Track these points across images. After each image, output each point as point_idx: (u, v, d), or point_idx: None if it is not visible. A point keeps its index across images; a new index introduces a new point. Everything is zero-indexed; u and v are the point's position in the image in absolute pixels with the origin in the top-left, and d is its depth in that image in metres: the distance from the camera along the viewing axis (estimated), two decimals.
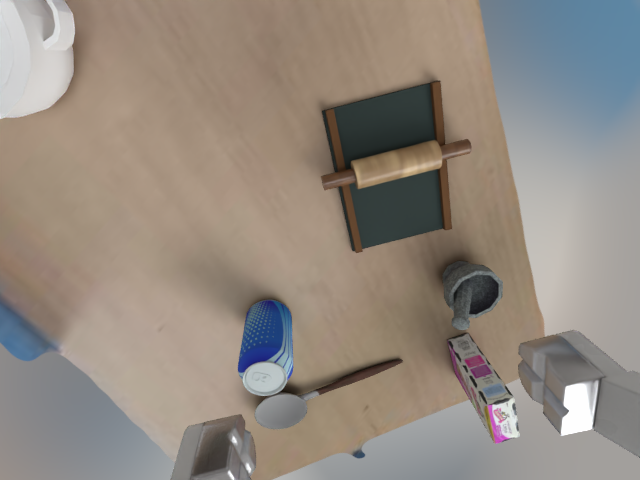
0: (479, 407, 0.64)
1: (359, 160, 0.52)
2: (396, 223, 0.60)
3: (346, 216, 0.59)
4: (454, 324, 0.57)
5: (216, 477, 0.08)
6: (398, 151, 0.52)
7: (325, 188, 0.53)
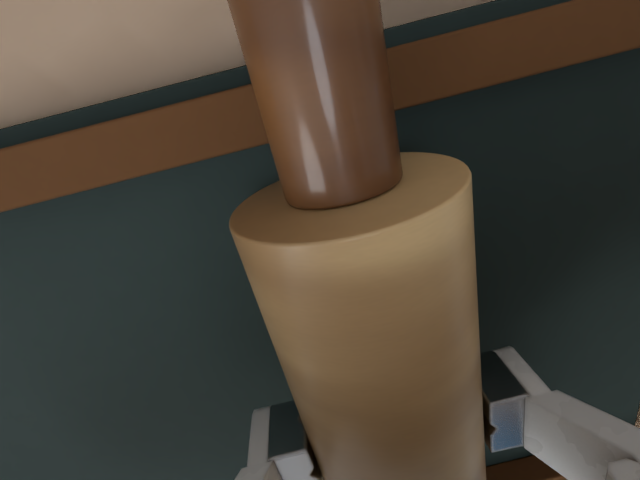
0: None
1: None
2: (41, 425, 0.11)
3: None
4: None
5: (294, 457, 0.08)
6: None
7: None
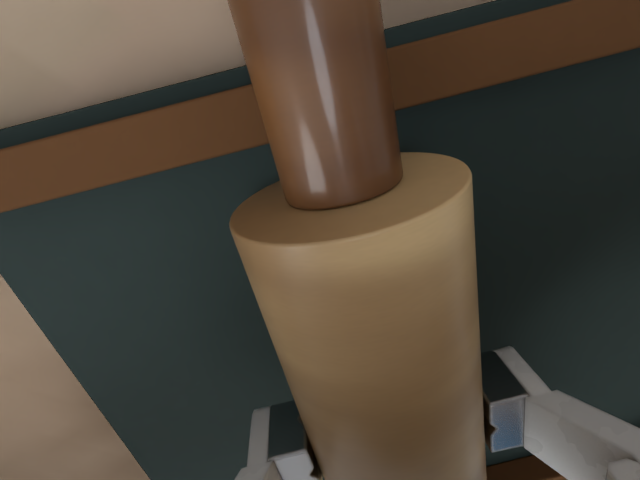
0: None
1: None
2: (193, 387, 0.11)
3: (208, 86, 0.08)
4: None
5: (294, 457, 0.08)
6: None
7: None
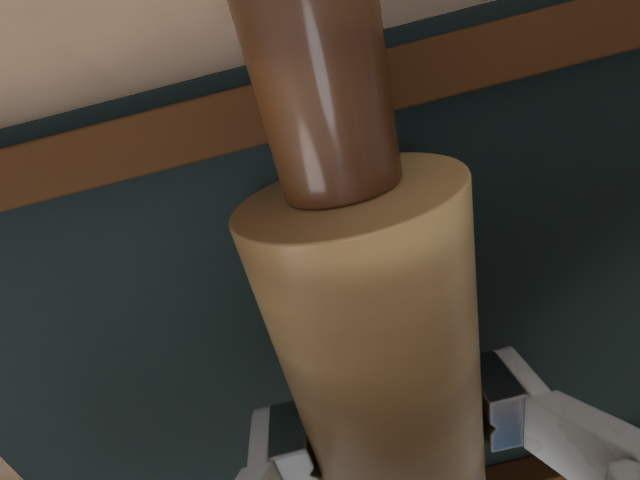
0: None
1: None
2: (73, 415, 0.11)
3: (35, 130, 0.08)
4: None
5: (294, 457, 0.08)
6: None
7: None
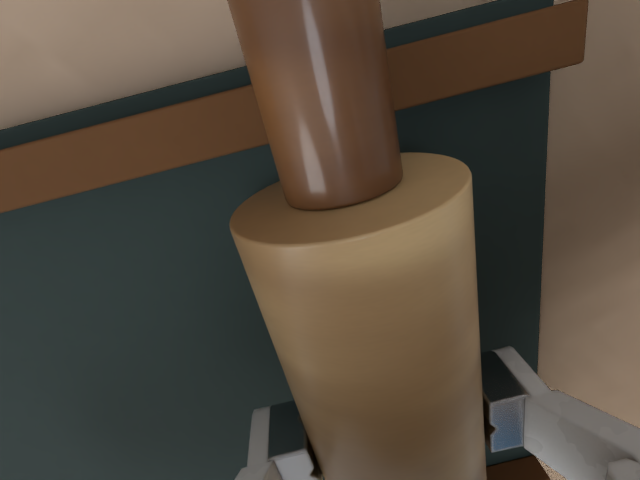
0: None
1: None
2: None
3: None
4: None
5: (294, 457, 0.08)
6: None
7: None
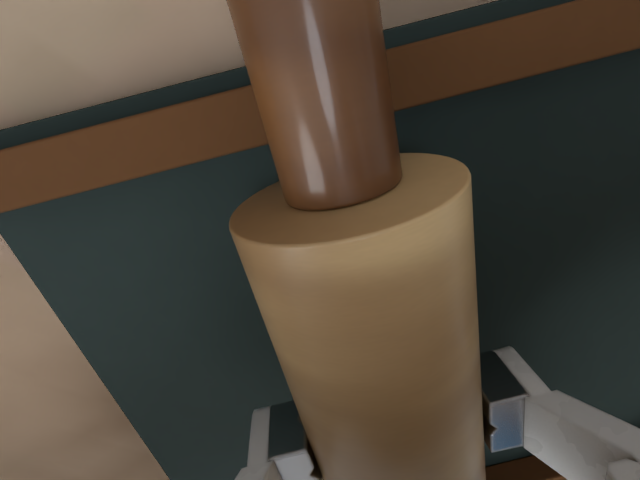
0: None
1: None
2: (211, 382, 0.11)
3: (235, 79, 0.08)
4: None
5: (294, 457, 0.08)
6: None
7: None
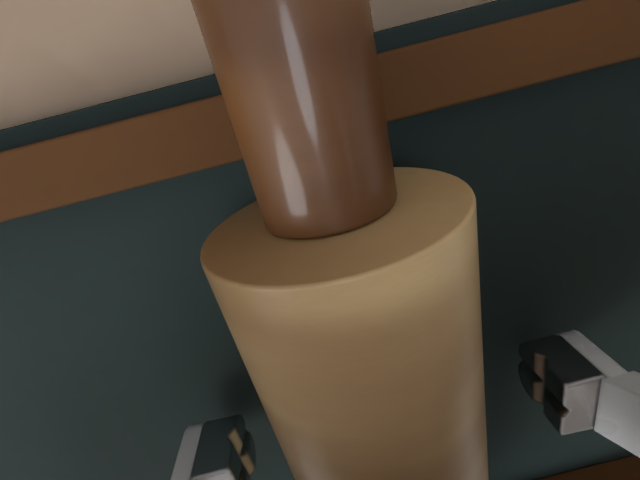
0: None
1: None
2: (55, 444, 0.11)
3: (4, 140, 0.07)
4: None
5: (216, 477, 0.08)
6: None
7: None
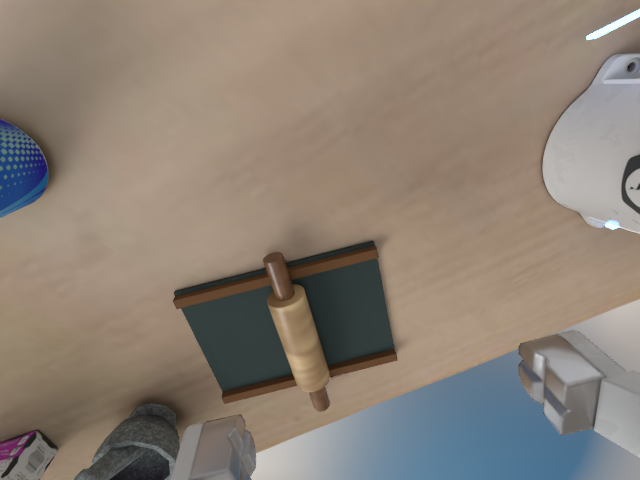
0: None
1: (306, 301, 0.39)
2: (224, 342, 0.44)
3: (230, 280, 0.40)
4: (81, 477, 0.36)
5: (216, 477, 0.08)
6: (318, 342, 0.41)
7: (267, 263, 0.36)
